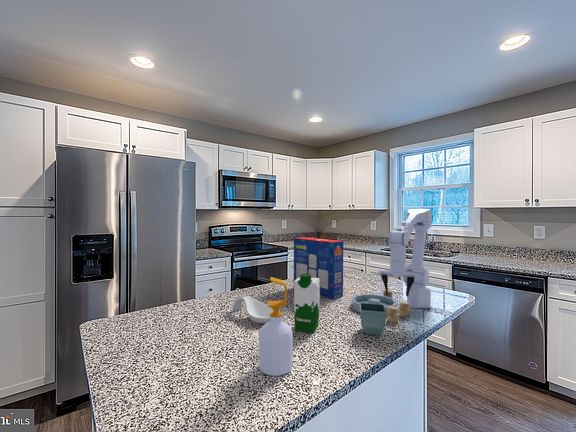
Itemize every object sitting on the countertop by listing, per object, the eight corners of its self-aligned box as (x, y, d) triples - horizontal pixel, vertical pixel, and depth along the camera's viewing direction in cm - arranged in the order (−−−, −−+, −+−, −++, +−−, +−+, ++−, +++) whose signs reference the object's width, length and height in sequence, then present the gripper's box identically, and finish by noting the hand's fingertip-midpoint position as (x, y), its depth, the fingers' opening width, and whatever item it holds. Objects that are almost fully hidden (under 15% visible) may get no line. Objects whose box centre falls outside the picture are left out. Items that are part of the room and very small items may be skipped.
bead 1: (390, 300, 141) (390, 290, 141) (393, 303, 137) (393, 292, 137) (382, 300, 141) (382, 290, 141) (384, 303, 137) (384, 292, 137)
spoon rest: (284, 321, 114) (284, 303, 114) (260, 330, 106) (260, 310, 106) (247, 307, 131) (247, 291, 131) (224, 313, 123) (224, 296, 123)
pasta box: (343, 296, 147) (343, 241, 147) (332, 299, 142) (333, 242, 141) (303, 285, 168) (304, 237, 168) (293, 288, 163) (293, 237, 162)
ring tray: (389, 301, 140) (389, 293, 140) (405, 316, 120) (405, 307, 120) (347, 300, 140) (347, 293, 140) (356, 315, 120) (356, 307, 120)
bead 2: (395, 319, 117) (396, 306, 117) (399, 322, 113) (399, 309, 113) (385, 318, 117) (385, 306, 117) (389, 322, 113) (389, 309, 113)
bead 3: (407, 313, 123) (407, 302, 123) (411, 317, 119) (411, 305, 119) (397, 313, 123) (398, 301, 123) (401, 317, 119) (401, 305, 119)
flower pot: (386, 338, 99) (387, 312, 99) (359, 336, 101) (360, 310, 100) (383, 328, 107) (383, 304, 107) (359, 326, 109) (359, 302, 109)
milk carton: (291, 331, 104) (291, 275, 104) (299, 322, 113) (299, 270, 113) (315, 334, 101) (316, 277, 101) (321, 325, 110) (321, 272, 110)
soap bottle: (259, 359, 84) (259, 274, 84) (290, 358, 85) (291, 274, 85) (258, 377, 75) (259, 282, 75) (294, 376, 76) (294, 281, 76)
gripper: (379, 260, 116) (377, 295, 116) (418, 263, 112) (417, 299, 112) (379, 258, 123) (377, 291, 123) (416, 261, 119) (415, 295, 118)
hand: (396, 294), depth 118 cm, fingers open, 7 cm apart
